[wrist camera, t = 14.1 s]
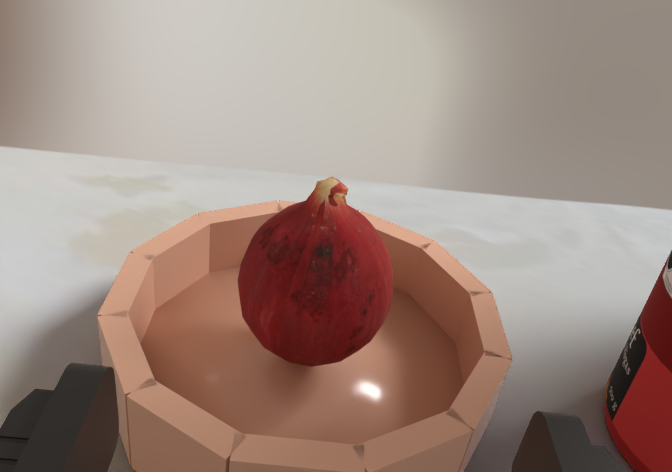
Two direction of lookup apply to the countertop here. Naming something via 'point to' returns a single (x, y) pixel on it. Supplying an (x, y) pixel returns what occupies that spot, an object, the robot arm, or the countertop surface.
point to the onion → (316, 280)
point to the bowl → (292, 379)
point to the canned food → (645, 385)
